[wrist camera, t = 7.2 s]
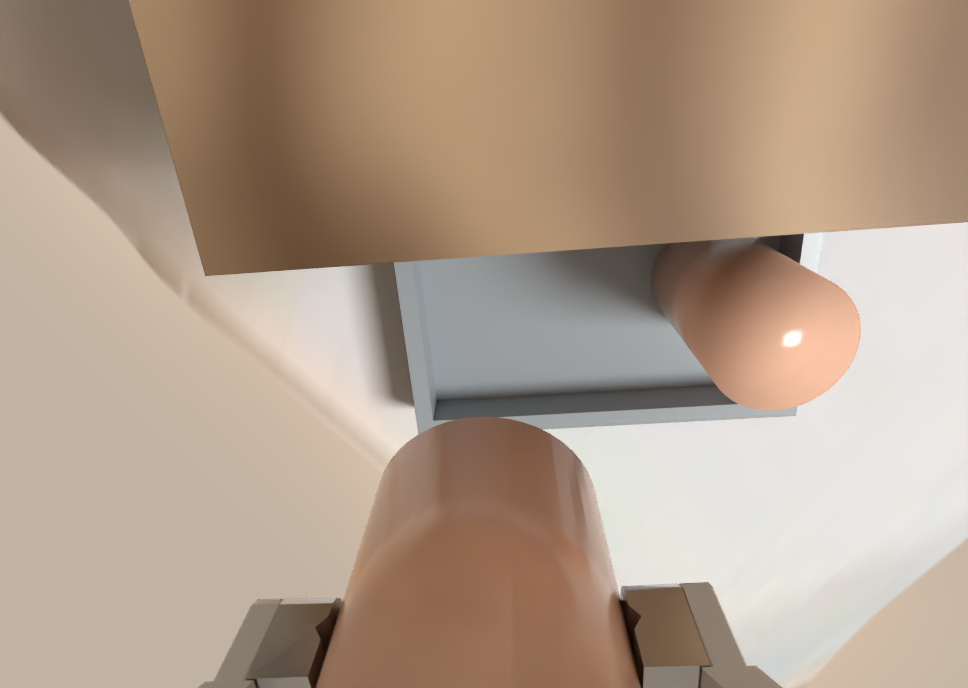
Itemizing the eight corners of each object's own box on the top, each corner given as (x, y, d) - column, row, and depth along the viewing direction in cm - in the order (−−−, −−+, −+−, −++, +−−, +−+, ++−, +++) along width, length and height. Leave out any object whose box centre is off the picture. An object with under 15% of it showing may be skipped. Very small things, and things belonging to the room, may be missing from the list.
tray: (814, 67, 24) (849, 64, 21) (772, 389, 30) (795, 415, 27) (383, 105, 25) (370, 106, 22) (425, 409, 31) (418, 435, 28)
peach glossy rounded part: (767, 219, 26) (873, 269, 18) (755, 323, 28) (847, 406, 20) (653, 227, 26) (712, 279, 19) (649, 330, 28) (702, 414, 21)
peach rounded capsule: (596, 410, 12) (745, 905, 5) (597, 589, 14) (702, 1136, 7) (359, 423, 12) (150, 911, 5) (393, 597, 14) (280, 1130, 7)
